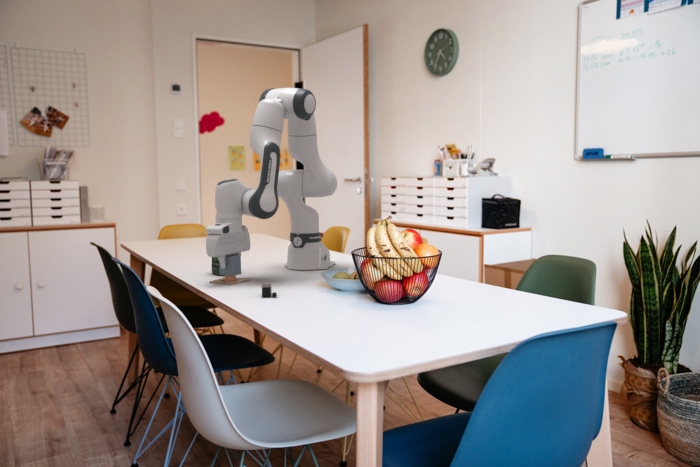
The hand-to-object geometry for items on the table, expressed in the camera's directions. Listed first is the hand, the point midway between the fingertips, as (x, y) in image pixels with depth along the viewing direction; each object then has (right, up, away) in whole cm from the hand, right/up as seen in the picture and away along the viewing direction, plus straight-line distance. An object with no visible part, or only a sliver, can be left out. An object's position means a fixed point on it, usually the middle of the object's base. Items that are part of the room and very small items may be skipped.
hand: (230, 266), depth 197 cm
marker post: (0, -5, 0) cm, 5 cm away
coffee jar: (-6, -4, +16) cm, 18 cm away
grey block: (0, -3, 0) cm, 3 cm away
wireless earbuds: (+17, -8, -23) cm, 30 cm away
